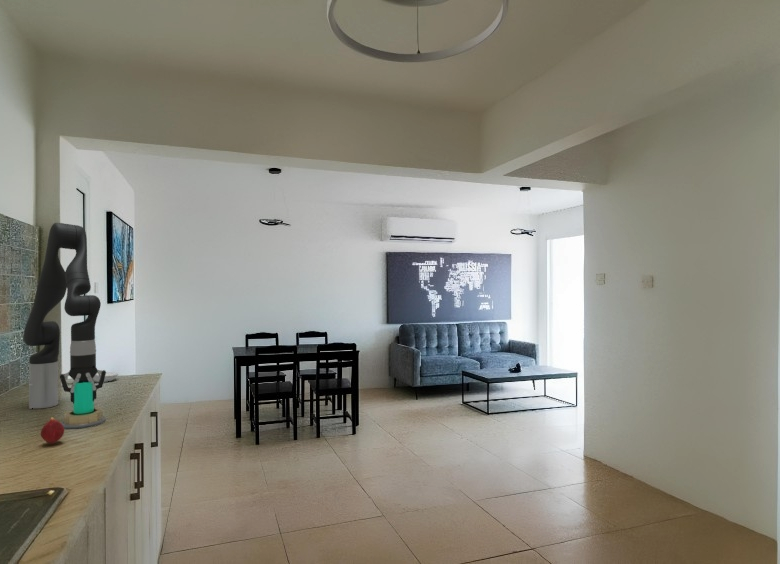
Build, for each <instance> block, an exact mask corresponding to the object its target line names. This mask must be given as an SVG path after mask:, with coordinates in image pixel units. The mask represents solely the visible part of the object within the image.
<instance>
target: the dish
mask: <svg viewBox="0 0 780 564" xmlns="http://www.w3.org/2000/svg"><path fill="white" fill-rule="evenodd" d="M103 422H104V423H105V422H106V416H104V415H102V419H101V420H99V421H97V422H93V423H89V424H83V425H66V424H64V420H63V421H61V422H60V423H61V424H62V425H63V427H64V428H65V429H64V430H77V429H78V430H80V429H86V428H92V427H96V426H99V425H101V423H102V424H103ZM98 424H99V425H98ZM95 425H96V426H95ZM91 426H92V427H91ZM79 428H80V429H79Z"/></svg>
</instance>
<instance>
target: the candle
mask: <svg viewBox="0 0 780 564" xmlns="http://www.w3.org/2000/svg"><path fill="white" fill-rule="evenodd" d="M93 382H94V383H95V381H93ZM72 404H73V403H72ZM94 404H95V400H94V401H93V385H92V382H82V383H75V386H74V404H73V405H72V407H73V413H74V414H84V413H89V412H92V411H94V408H95V405H94Z"/></svg>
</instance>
